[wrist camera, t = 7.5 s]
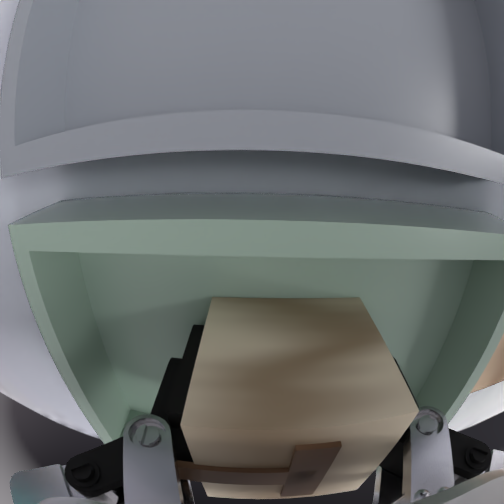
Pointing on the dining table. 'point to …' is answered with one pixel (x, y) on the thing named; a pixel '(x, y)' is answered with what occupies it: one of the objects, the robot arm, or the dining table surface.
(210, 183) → the dining table surface
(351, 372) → the letter cube
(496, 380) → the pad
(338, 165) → the dining table surface
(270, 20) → the slate tray
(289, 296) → the green tray
